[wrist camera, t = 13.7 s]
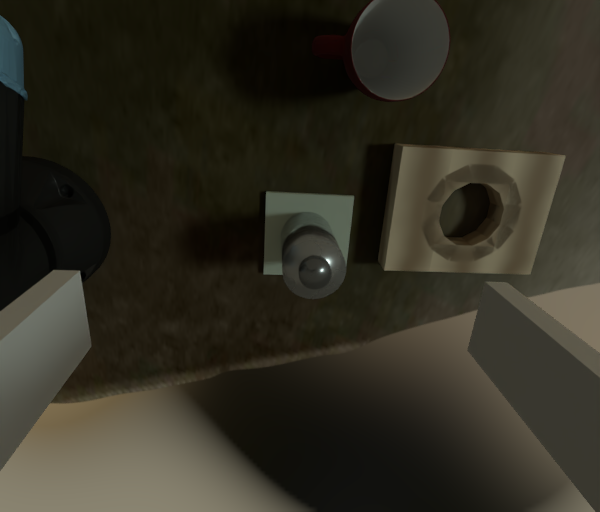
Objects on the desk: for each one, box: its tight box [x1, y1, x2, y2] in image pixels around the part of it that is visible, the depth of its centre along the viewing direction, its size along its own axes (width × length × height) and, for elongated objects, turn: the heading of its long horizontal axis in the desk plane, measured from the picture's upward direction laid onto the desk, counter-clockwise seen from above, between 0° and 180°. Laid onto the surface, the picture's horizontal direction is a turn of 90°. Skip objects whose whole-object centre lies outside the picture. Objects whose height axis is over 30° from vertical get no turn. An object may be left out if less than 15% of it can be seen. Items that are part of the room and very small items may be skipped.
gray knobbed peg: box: [281, 212, 346, 299], centre depth 41 cm, size 6×6×11 cm
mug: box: [312, 0, 450, 102], centre depth 35 cm, size 11×8×10 cm
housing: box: [378, 144, 566, 274], centre depth 45 cm, size 18×14×3 cm
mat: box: [264, 191, 354, 275], centre depth 46 cm, size 10×10×1 cm
